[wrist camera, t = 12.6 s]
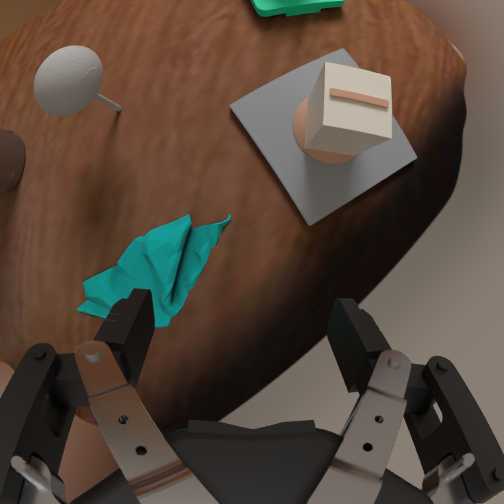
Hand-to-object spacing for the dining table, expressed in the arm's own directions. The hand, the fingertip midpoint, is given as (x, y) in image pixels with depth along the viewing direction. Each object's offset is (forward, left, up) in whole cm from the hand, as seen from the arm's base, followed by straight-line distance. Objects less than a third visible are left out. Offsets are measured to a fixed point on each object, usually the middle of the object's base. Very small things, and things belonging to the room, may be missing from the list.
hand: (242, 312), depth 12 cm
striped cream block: (-6, +14, -19) cm, 24 cm away
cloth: (-4, -14, -21) cm, 26 cm away
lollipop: (-24, -5, -20) cm, 32 cm away
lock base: (-7, +14, -20) cm, 25 cm away
